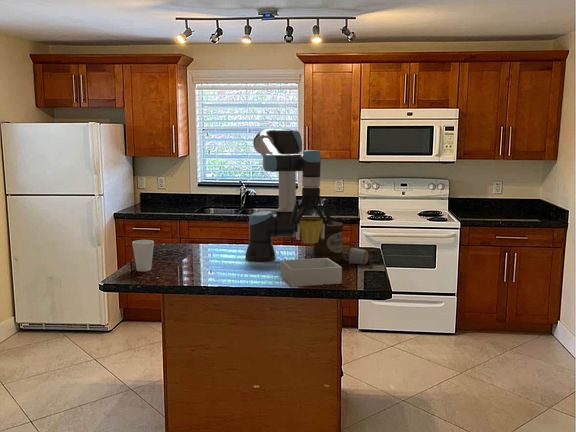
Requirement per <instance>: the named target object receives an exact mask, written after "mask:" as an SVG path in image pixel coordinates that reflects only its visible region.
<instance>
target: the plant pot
mask: <svg viewBox="0 0 576 432" xmlns="http://www.w3.org/2000/svg"><path fill="white" fill-rule="evenodd" d="M298 224H299V225H300V231H301V232H300V235H301V240H302V243H304V244H313V243H317V242H318V240H319V235H320V231H321V228H322V227H323V220H322V219H321V218H320V217H319V218H318V217H302V218H301V219H300V221H299V223H298Z"/></svg>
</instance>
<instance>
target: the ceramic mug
mask: <svg viewBox="0 0 576 432" xmlns="http://www.w3.org/2000/svg"><path fill="white" fill-rule="evenodd" d="M368 261H369V251H368V250H366V249H361V248H356V247H351V248H350V250H349V254H348V262H349V264H352V265H359V266H365V265H366V264H367V263H368Z"/></svg>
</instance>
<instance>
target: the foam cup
mask: <svg viewBox="0 0 576 432" xmlns="http://www.w3.org/2000/svg"><path fill="white" fill-rule="evenodd" d="M154 247H155V242H154V240H151V239H138V240H133V241H132V249H133V250H132V251H133V257H134V261H135V267H136V272H149V271H151V270H152V265H153V264H152V263H153V255H154Z"/></svg>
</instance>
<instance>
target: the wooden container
mask: <svg viewBox="0 0 576 432" xmlns="http://www.w3.org/2000/svg"><path fill="white" fill-rule="evenodd" d="M324 217H325V219H326V216H324ZM330 218H331V222H328V223H327V230H326V231H324V239H322V238H321V231H320V235H319V240H318V242H317V243H312V259H317V258H328V259H330V260H332V261H333V262H335V263H336V262H340V261H342V260H343V246H344V245H343V239H344V238H343V236H344V235H343V234H344V233H343V231H344V223H343V222H339V221H333V220H332V219H333V218H332V216H330Z"/></svg>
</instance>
